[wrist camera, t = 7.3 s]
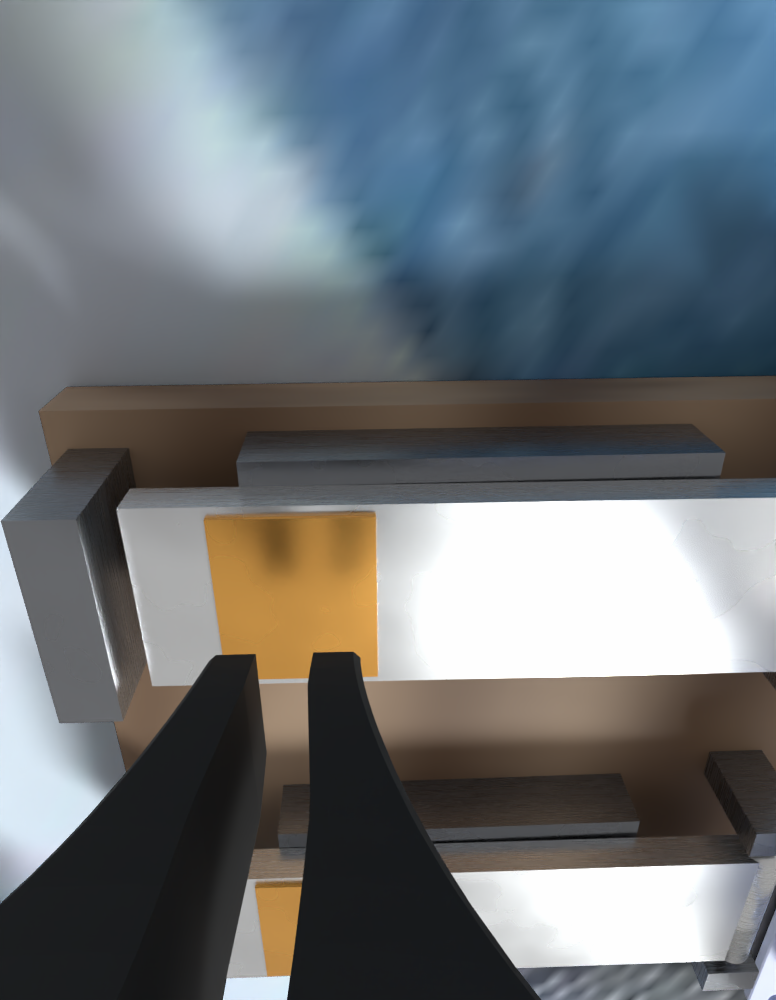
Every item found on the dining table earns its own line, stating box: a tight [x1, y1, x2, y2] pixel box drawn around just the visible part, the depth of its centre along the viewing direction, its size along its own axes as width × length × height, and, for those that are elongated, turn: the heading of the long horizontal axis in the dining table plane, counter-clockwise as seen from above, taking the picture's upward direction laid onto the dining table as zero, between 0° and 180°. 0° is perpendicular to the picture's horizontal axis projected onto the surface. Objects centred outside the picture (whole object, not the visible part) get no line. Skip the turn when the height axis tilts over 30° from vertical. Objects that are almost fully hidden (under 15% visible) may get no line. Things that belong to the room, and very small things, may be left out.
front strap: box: [116, 478, 776, 686], centre depth 14 cm, size 14×4×1 cm, turn 90°
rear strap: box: [227, 834, 776, 978], centre depth 18 cm, size 14×4×1 cm, turn 90°
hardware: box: [1, 424, 776, 991], centre depth 16 cm, size 16×16×3 cm
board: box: [39, 376, 776, 849], centre depth 18 cm, size 18×16×2 cm
